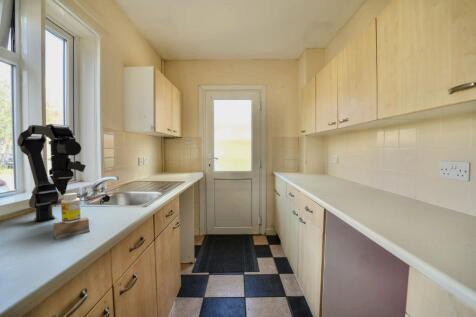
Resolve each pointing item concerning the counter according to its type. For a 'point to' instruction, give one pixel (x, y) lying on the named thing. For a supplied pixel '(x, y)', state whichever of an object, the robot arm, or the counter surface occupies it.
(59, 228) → the block
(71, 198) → the supplement bottle
